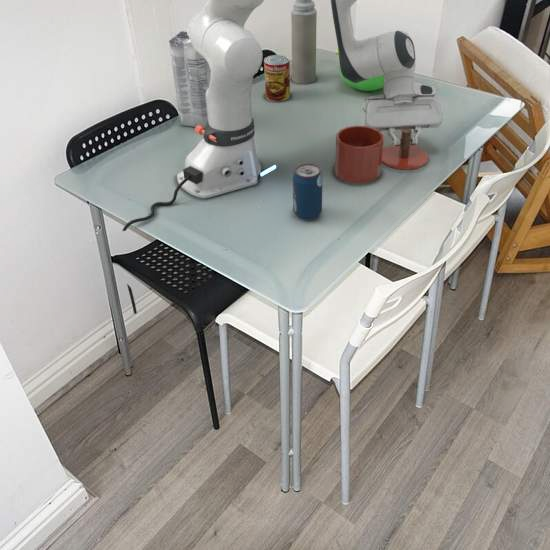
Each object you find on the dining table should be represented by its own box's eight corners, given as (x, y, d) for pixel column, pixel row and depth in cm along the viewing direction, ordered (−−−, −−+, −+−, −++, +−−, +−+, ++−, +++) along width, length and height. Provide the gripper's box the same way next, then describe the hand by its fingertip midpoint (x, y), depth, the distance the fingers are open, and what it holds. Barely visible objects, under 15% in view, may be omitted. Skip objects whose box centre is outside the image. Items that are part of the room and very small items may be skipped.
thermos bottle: (293, 74, 213) (292, -13, 195) (316, 74, 213) (317, -13, 194) (291, 83, 207) (289, -5, 189) (315, 84, 206) (316, -5, 188)
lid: (404, 177, 160) (407, 147, 155) (369, 158, 168) (371, 129, 163) (437, 161, 166) (442, 131, 160) (402, 143, 174) (405, 114, 168)
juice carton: (209, 131, 183) (199, 38, 166) (177, 126, 186) (164, 35, 168) (221, 118, 189) (213, 27, 172) (190, 113, 192) (178, 24, 175)
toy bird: (400, 84, 204) (405, 39, 195) (379, 104, 193) (383, 57, 184) (351, 74, 212) (353, 30, 202) (328, 92, 201) (329, 47, 192)
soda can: (327, 212, 149) (329, 168, 141) (309, 225, 145) (309, 181, 138) (305, 202, 153) (305, 159, 145) (287, 214, 149) (286, 171, 141)
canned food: (262, 100, 198) (260, 63, 190) (269, 90, 204) (268, 53, 196) (286, 102, 196) (285, 65, 189) (292, 92, 202) (292, 55, 194)
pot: (356, 190, 156) (358, 152, 150) (325, 171, 164) (326, 135, 157) (389, 174, 162) (393, 137, 155) (358, 156, 169) (360, 121, 162)
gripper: (364, 92, 161) (368, 144, 160) (442, 87, 162) (447, 139, 161) (360, 100, 168) (364, 151, 166) (435, 96, 168) (439, 146, 167)
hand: (405, 145), depth 164 cm, fingers open, 3 cm apart
